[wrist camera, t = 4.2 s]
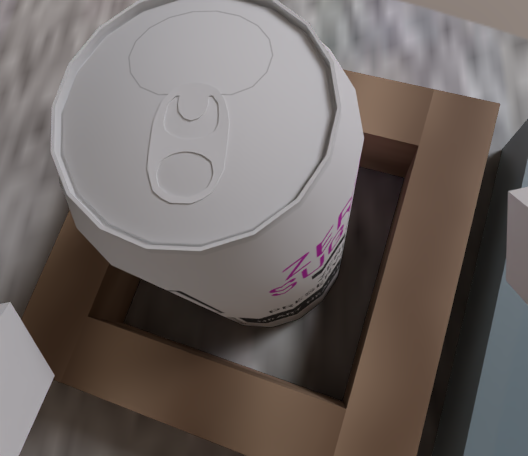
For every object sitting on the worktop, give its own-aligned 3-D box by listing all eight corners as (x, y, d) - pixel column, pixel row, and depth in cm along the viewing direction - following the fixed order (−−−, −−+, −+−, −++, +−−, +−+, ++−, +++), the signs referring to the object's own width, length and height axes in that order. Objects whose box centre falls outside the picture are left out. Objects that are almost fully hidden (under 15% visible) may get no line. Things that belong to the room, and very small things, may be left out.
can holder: (51, 360, 25) (3, 359, 21) (172, 71, 29) (150, 27, 25) (388, 489, 22) (402, 517, 18) (473, 142, 26) (500, 103, 22)
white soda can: (198, 177, 27) (58, -30, 13) (344, 181, 26) (371, -41, 12) (181, 322, 25) (-9, 269, 11) (340, 332, 24) (366, 288, 10)
